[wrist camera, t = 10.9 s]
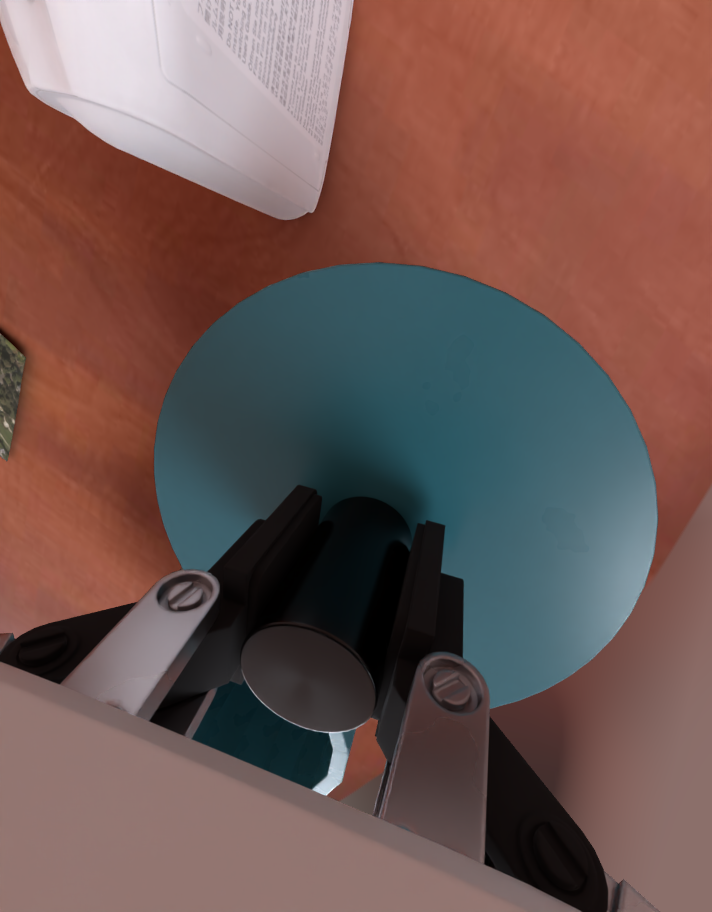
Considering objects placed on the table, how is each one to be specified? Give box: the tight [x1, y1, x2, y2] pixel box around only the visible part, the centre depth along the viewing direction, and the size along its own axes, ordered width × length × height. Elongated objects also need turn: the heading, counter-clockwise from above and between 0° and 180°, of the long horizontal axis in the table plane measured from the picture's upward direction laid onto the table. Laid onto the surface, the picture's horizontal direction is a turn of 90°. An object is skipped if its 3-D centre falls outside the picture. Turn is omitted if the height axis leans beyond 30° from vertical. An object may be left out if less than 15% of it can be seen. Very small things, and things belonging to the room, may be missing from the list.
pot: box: [179, 568, 356, 796], centre depth 24 cm, size 14×14×8 cm
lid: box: [154, 262, 658, 733], centre depth 10 cm, size 15×15×6 cm
